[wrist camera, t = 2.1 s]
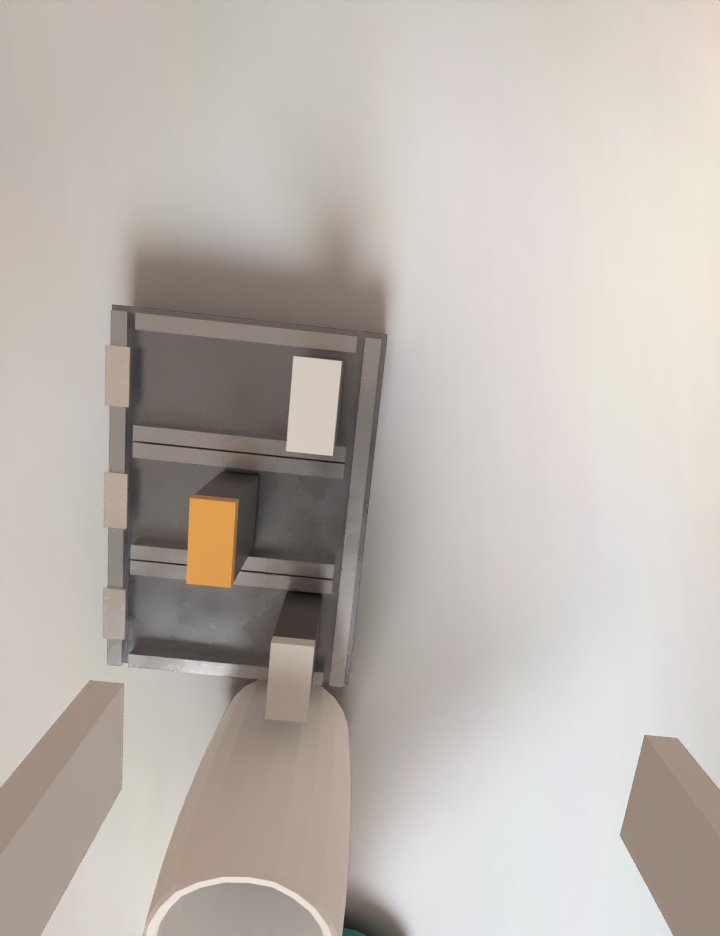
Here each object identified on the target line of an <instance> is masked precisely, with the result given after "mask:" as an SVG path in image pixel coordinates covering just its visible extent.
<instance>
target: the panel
mask: <svg viewBox="0 0 720 936" xmlns="http://www.w3.org/2000/svg"><path fill="white" fill-rule="evenodd" d="M386 343H387V334H381V333H372V332H362V331H353V330H344V329H335V328H325V327H316V326H307V325H298V324H288V323H279V322H270V321H261V320H251V319H242V318H233V317H224V316H214V315H205V314H196V313H187V312H177V311H168V310H159V309H150V308H140V307H131V306H122V305H113V304H112V310H111V345H106V355H105V405H110V437H109V472H104V527H108V587H104V588H103V638H107V665H114V666H122V664H123V663H128V667H134V668H145V669H155V670H166V671H176V672H187V673H197V674H208V675H218V676H229V677H239V678H250V679H260V680H268V673H269V661H270V648H271V641H272V638H273V634H274V631H275V628H276V625H277V622H278V618H279V615H280V612H281V609H282V606H283V602H284V599H285V596H286V593H296V594H306V595H317V596H322V605H321V615H320V625H319V635H318V645H317V656H316V664H315V671H314V678H313V685H322V683H323V682H329V686H334V687H343V685H344V684H348V682H349V673H350V664H351V655H352V646H353V637H354V629H355V620H356V611H357V602H358V593H359V584H360V575H361V566H362V557H363V548H364V539H365V530H366V521H367V513H368V504H369V495H370V486H371V477H372V468H373V459H374V450H375V441H376V432H377V423H378V414H379V405H380V397H381V388H382V379H383V370H384V361H385V352H386ZM293 356H314V357H323V358H332V359H342V360H345V369H344V379H343V390H342V400H341V410H340V420H339V431H338V438H337V442H336V446H335V449H334V453H333V456H327V455H318V454H308V453H298V452H289V451H286V444H287V431H288V419H289V406H290V393H291V380H292V368H293ZM220 472H228V473H237V474H247V475H257V476H258V491H257V506H256V520H255V535H254V547H253V549H252V551H251V552H250V554H249V556H248V558H247V559H246V561H245V563H244V565H243V567H242V568H241V570H240V572H239V574H238V576H237V577H236V579H235V581H234V583H233V585H232V586H231V588H226V587H216V586H205V585H195V584H186V576H187V552H188V529H189V506H190V497H192V496H193V495H194V494H195V493H196V492H198V491H199V490H200V489H201V488H202V487H204V486H205V485H206V484H207V483H208V482H209V481H211V480H212V479H213V478H214V477H215V476H217V475H218V474H219V473H220Z"/></svg>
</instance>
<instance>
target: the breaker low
mask: <svg viewBox="0 0 720 936" xmlns="http://www.w3.org/2000/svg"><path fill="white" fill-rule="evenodd" d="M321 605H322V596H317V595H306V594H296V593H286V596H285V599H284V602H283V606H282V609H281V612H280V615H279V618H278V622H277V625H276V628H275V631H274V634H273V638H272V641H271V648H270V661H269V673H268V686H267V699H266V712H265V719H269V720H280V721H290V722H301V723H307V718H308V712H309V705H310V698H311V691H312V685H313V678H314V671H315V664H316V656H317V645H318V635H319V625H320V615H321Z"/></svg>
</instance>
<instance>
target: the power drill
mask: <svg viewBox="0 0 720 936" xmlns="http://www.w3.org/2000/svg"><path fill="white" fill-rule="evenodd" d="M342 936H366V935H364V934H362V933H360V932H358V931H356V930H351V929H346V928H343V931H342Z"/></svg>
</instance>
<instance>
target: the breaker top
mask: <svg viewBox="0 0 720 936" xmlns="http://www.w3.org/2000/svg"><path fill="white" fill-rule="evenodd" d="M344 369H345V360H342V359H332V358H323V357H314V356H293V368H292V380H291V393H290V406H289V419H288V431H287V444H286V451H289V452H298V453H308V454H318V455H327V456H333V453H334V449H335V446H336V442H337V438H338V431H339V420H340V410H341V400H342V390H343V379H344Z"/></svg>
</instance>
